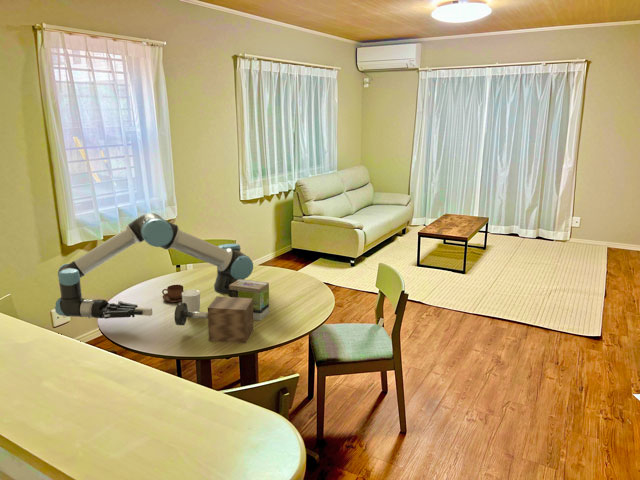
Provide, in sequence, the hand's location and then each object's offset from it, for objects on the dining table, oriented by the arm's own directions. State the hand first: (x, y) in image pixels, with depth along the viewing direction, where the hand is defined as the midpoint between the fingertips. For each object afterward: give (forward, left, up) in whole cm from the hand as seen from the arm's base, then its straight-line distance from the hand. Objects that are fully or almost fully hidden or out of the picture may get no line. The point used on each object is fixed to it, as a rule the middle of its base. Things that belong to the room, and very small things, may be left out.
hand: (151, 312), depth 193 cm
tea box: (-38, +17, -8) cm, 42 cm away
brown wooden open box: (-19, +27, -8) cm, 34 cm away
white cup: (-21, -2, -8) cm, 22 cm away
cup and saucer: (-26, -22, -8) cm, 35 cm away
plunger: (-11, +16, -5) cm, 20 cm away
